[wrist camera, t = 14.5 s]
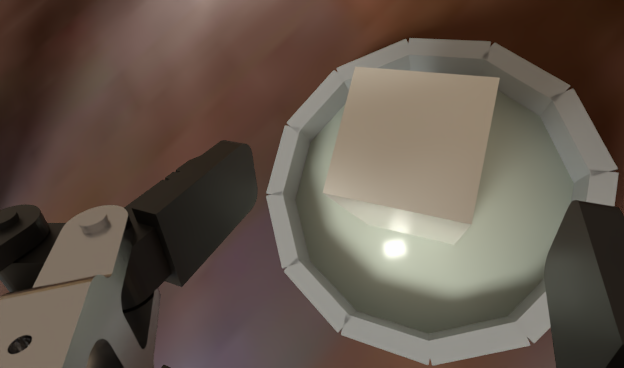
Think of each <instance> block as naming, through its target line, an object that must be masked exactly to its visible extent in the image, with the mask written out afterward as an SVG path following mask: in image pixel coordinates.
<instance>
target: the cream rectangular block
mask: <svg viewBox="0 0 624 368" xmlns="http://www.w3.org/2000/svg"><path fill="white" fill-rule="evenodd" d="M499 80H500V78H498V77H485V76H472V75H459V74H446V73H433V72H420V71H407V70H394V69H381V68H368V67H355V69H354V73H353V77H352V81H351V85H350V88H349V92H348V96H347V100H346V104H345V108H344V112H343V116H342V120H341V123H340V127H339V131H338V135H337V139H336V143H335V147H334V151H333V155H332V158H331V162H330V166H329V170H328V174H327V178H326V182H325V186H324V190H323V194H325V195H326V196H328V197H329V198H330V199H332V200H333V201H335V202H336V203H338V204H339V205H340V206H342V207H343V208H345V209H346V210H348V211H349V212H350V213H352V214H353V215H355V216H356V217H357V218H359V219H360V220H362V221H363V222H365V223H366V224H367V225H371V226H375V227H380V228H384V229H388V230H393V231H397V232H401V233H405V234H410V235H414V236H418V237H422V238H427V239H431V240H435V241H440V242H444V243H448V244H452V245H455V243H456V242H457V241H458V240H459V239H460V238H461V236H462V235H463V234H464V233H465V232H466V231H467V229H468V228H469V227H470V226H471V225H472V220H473V215H474V210H475V204H476V199H477V194H478V189H479V184H480V178H481V173H482V168H483V163H484V158H485V152H486V147H487V142H488V137H489V132H490V126H491V121H492V116H493V111H494V106H495V100H496V95H497V90H498V85H499Z"/></svg>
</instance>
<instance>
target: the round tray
mask: <svg viewBox="0 0 624 368" xmlns="http://www.w3.org/2000/svg"><path fill="white" fill-rule="evenodd" d="M490 44H491V41H469V40H445V39H421V38H409V43H408V42H407V40H406V39H404V40H402V41H399V42H397V43H395V44H392V45H390V46H388V47H385V48H383V49H380V50H378V51H376V52H373V53H371V54H369V55H366V56H364V57H361V58H359V59H357V60H354V61H352V62H350V63H347V64H345V65H342V66H340V67H338V68H337V71H338V72H336V71H335V70H333V71H332V73H331V74H330V75H329V76H328V77H327V78H326V79H325V80H324V81H323V83H322V84H321V85H320V86H319V87H318V88H317V89H316V90H315V91H314V93H313V94H312V95H311V96H310V97H309V98H308V99H307V100H306V102H305V103H304V104H303V105H302V106H301V107H300V108H299V109H298V110H297V112H296V113H295V114H294V115H293V116H292V117H291V118H290V119H289V120H288V122H287V124H288V125H289V126H285V127H284V131H283V134H282V138H281V141H280V145H279V149H278V152H277V156H276V160H275V163H274V167H273V170H272V174H271V178H270V181H269V185H268V188H267V192H266V193H267V194H269V195H268V196H266V198H267V202H268V207H269V211H270V216H271V220H272V225H273V229H274V234H275V238H276V243H277V247H278V252H279V256H280V261H281V265H282V268H286V269H285V270H284V272H285V273H286V274H287V276H288V277H289V278H290V279H291V280H292V281H293V282H294V284H295V285H296V286H297V287H298V288H299V289H300V290H301V292H302V293H303V294H304V295H305V296H306V297H307V298H308V299H309V301H310V302H311V303H312V304H313V305H314V306H315V307H316V309H317V310H318V311H319V312H320V313H321V314H322V315H323V316H324V318H325V319H326V320H327V321H328V322H329V323H330V324H331V326H332V327H333V328H334V329H335V330H336V331H337V332H340V331H341V330H342V332H341V335H343V336H346V337H349V338H351V339H354V340H357V341H360V342H363V343H366V344H369V345H372V346H374V347H377V348H380V349H383V350H386V351H389V352H392V353H395V354H397V355H400V356H403V357H406V358H409V359H412V360H415V361H417V362H420V363H423V364H426V365H428V364H429V359H431V362H432V366H433V365H438V364H443V363H447V362H452V361H457V360H462V359H467V358H472V357H477V356H482V355H486V354H491V353H496V352H501V351H506V350H511V349H516V348H521V347H525V346H530V343H529V341H528V339H529V340H530V341H532V342H533V343H535V342H536V341H537V340H538V339H539V338H540V337H541V336H542V335H543V334H544V333H545V332H546V331H547V330H548V329H549V328H550V327H551V325H550V318H549V310H548V303H547V296H546V289H545V282H544V269H545V262H546V258H547V255H548V252H549V250H550V247H551V245H552V243H553V240H554V238H555V236H556V234H557V231H558V229H559V227H560V224H561V222H562V220H563V218H564V215H565V213H566V211H567V209H568V207H569V205H570V203H571V202H572V201H574V200H579V201H585V202H591V203H597V204H603V205H608V206H615V198H616V190H617V182H618V174H619V173H616V172H613V171H615V170H617V169H618V168H617V166H616V165H615V163H614V161H613V159H612V157H611V155H610V154H609V152H608V150H607V148H606V146H605V145H604V143H603V141H602V139H601V137H600V135H599V134H598V132H597V130H596V128H595V126H594V125H593V123H592V121H591V119H590V117H589V116H588V114H587V112H586V110H585V108H584V106H583V105H582V103H581V101H580V99H579V97H578V96H577V94H576V92H575V90H574V88H573V89H570V90H568V89H569V87H570V85H569V84H567V83H565V82H563V81H562V80H560V79H558V78H556V77H555V76H553V75H551V74H549V73H548V72H546V71H544V70H542V69H541V68H539V67H537V66H535V65H534V64H532V63H530V62H528V61H527V60H525V59H523V58H521V57H519V56H518V55H516V54H514V53H512V52H511V51H509V50H507V49H505V48H504V47H502V46H500V45H498V44H497V43H494V44H493V45H492V46H491V47H490ZM355 67H368V68H381V69H394V70H407V71H420V72H433V73H446V74H459V75H472V76H485V77H498V78H500V80H499V85H498V90H497V95H496V100H495V106H494V111H493V116H492V121H491V126H490V132H489V137H488V142H487V147H486V152H485V158H484V163H483V168H482V173H481V178H480V184H479V189H478V194H477V199H476V204H475V210H474V215H473V220H472V225H471V226H470V227H469V228H468V229H467V231H466V232H465V233H464V234H463V235H462V236H461V238H460V239H459V240H458V241H457V242H456V243H455V245H452V244H448V243H444V242H440V241H435V240H431V239H427V238H422V237H418V236H414V235H410V234H405V233H401V232H397V231H393V230H388V229H384V228H380V227H375V226H371V225H367V224H366V223H365V222H363V221H362V220H360V219H359V218H357V217H356V216H355V215H353V214H352V213H350V212H349V211H348V210H346V209H345V208H343V207H342V206H340V205H339V204H338V203H336V202H335V201H333V200H332V199H330V198H329V197H328V196H326V195H325V194H323V190H324V186H325V182H326V178H327V174H328V170H329V166H330V162H331V158H332V155H333V151H334V147H335V143H336V139H337V135H338V131H339V127H340V123H341V120H342V116H343V112H344V108H345V104H346V100H347V96H348V92H349V88H350V85H351V81H352V77H353V73H354V69H355ZM567 90H568V91H567Z"/></svg>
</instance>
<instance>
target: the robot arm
mask: <svg viewBox="0 0 624 368" xmlns="http://www.w3.org/2000/svg"><path fill="white" fill-rule="evenodd" d="M256 199H257V183H256V176H255V169H254V163H253V156H252V151H251V148H250V147H249V145H247V144H244V143H238V142H232V141H226V140H223V141H220V142H219V143H217V144H216V145H215V146H213V147H212V148H211V149H209V150H208V151H207V152H205V153H204V154H203V155H201V156H199V157H196V158H194V159H191V160H189V161H187V162H186V163H185V164H183V165H182V166H181V167H179V168H178V169H177V170H176V172H172V173H171V174H170V175H168V176H167V177H166V178H165V180H162V181H160V182H159V183H157V184H156V185H155V186H153V187H152V188H151V189H149V190H148V191H146V192H145V193H144V194H142V195H141V196H140V197H138V198H137V199H136V200H134V201H133V202H131V203H130V204H129V205H127V206H126V207H125V208H123V207H120V206H116V205H106V206H99V207H95V208H92V209H89V210H86V211H84V212H82V213H80V214H78V215H76V216H75V217H73V218H72V219H71V220H69V221H68V222H67V223H47V222H46V220H45V218H44V216H43V215H42V213H41V211H40V209H39V208H38V207H36V206H34V205H17V206H12V207H8V208H5V209H2V210H0V280H1V281H2V282H3V284H4V285H5V286H6V288H7V289H8V290H9V292H10V293H6V294H4V295H2V296H1V297H0V368H154V361H153V359H154V349H155V340H156V332H157V323H158V315H159V307H160V298H161V294H160V290H159V288H158V287H159V286H160V285H161V284H162V283H163V282H164V281H166V282H169V283H172V284H175V285H178V286H180V287H182V286H183V285H184V284H185V283H186V282H187V281H188V280H189V278H190V277H191V276H192V275H193V274H194V273H195V272H196V271H197V270H198V268H199V267H200V266H201V265H202V264H203V263H204V262H205V261H206V259H207V258H208V257H209V256H210V255H211V254H212V253H213V252H214V251H215V249H216V248H217V247H218V246H219V245H220V244H221V243H222V242H223V241H224V239H225V238H226V237H227V236H228V235H229V234H230V233H231V232H232V230H233V229H234V228H235V227H236V226H237V225H238V224H239V223H240V222H241V220H242V219H243V218H244V217H245V216H246V215H247V214H248V213H249V211H250V210H251V209H252V208H253V206H254V204H255V202H256ZM544 282H545V289H546V296H547V303H548V310H549V318H550V325H551V332H552V339H553V347H554V354H555V361H556V368H624V216H623V214H622V212H621V210H620V209H619V208H618V207H614V206H608V205H603V204H597V203H591V202H585V201H579V200H574V201H572V202H571V203H570V205H569V207H568V209H567V211H566V213H565V215H564V218H563V220H562V222H561V224H560V227H559V229H558V231H557V234H556V236H555V238H554V240H553V243H552V245H551V247H550V250H549V252H548V255H547V258H546V262H545V269H544ZM162 368H170V367H168V366H166V365H163V366H162Z"/></svg>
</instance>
